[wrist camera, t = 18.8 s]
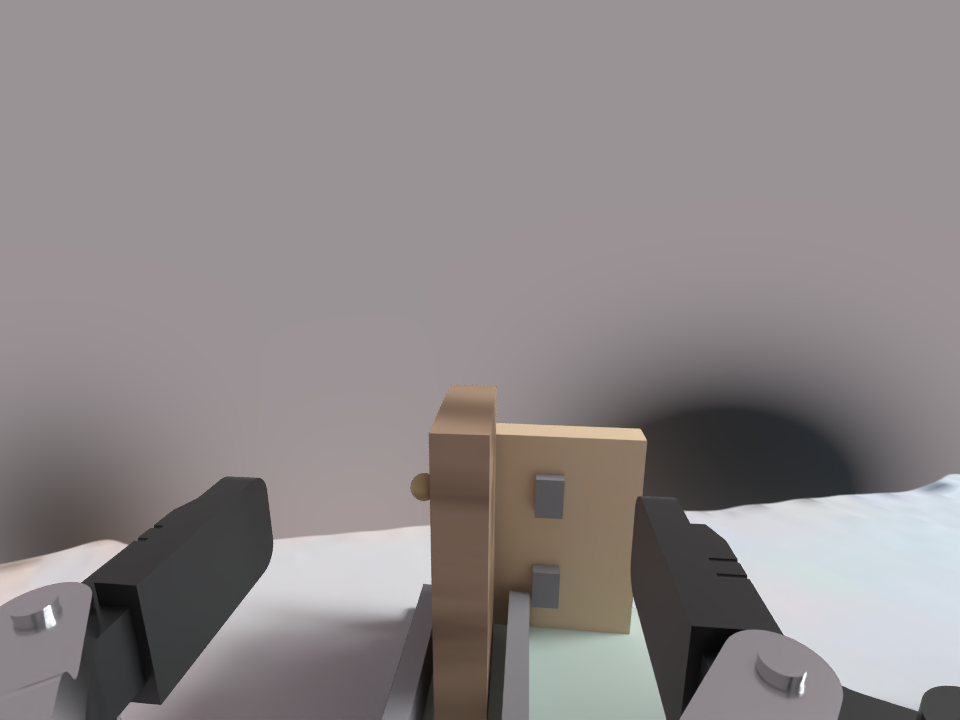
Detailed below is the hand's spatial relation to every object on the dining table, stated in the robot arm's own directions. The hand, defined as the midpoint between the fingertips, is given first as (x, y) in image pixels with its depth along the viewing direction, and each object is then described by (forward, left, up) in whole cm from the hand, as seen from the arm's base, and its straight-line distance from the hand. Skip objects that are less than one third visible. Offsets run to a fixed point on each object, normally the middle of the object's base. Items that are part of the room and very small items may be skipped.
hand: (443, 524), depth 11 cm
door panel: (-9, -10, -18) cm, 22 cm away
